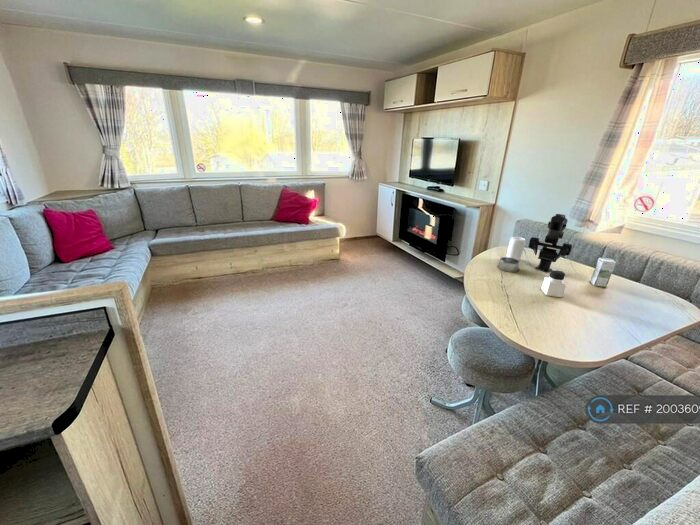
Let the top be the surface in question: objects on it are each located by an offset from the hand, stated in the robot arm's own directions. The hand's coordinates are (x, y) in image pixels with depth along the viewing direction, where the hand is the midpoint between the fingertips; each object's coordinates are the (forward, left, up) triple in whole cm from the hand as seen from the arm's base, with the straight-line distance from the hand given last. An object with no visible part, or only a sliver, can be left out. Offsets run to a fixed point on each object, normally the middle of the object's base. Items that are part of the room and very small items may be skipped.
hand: (546, 256), depth 157 cm
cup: (-24, -26, -16) cm, 39 cm away
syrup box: (-29, +18, -16) cm, 37 cm away
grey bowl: (-7, -20, -15) cm, 26 cm away
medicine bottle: (+5, +9, -16) cm, 19 cm away
